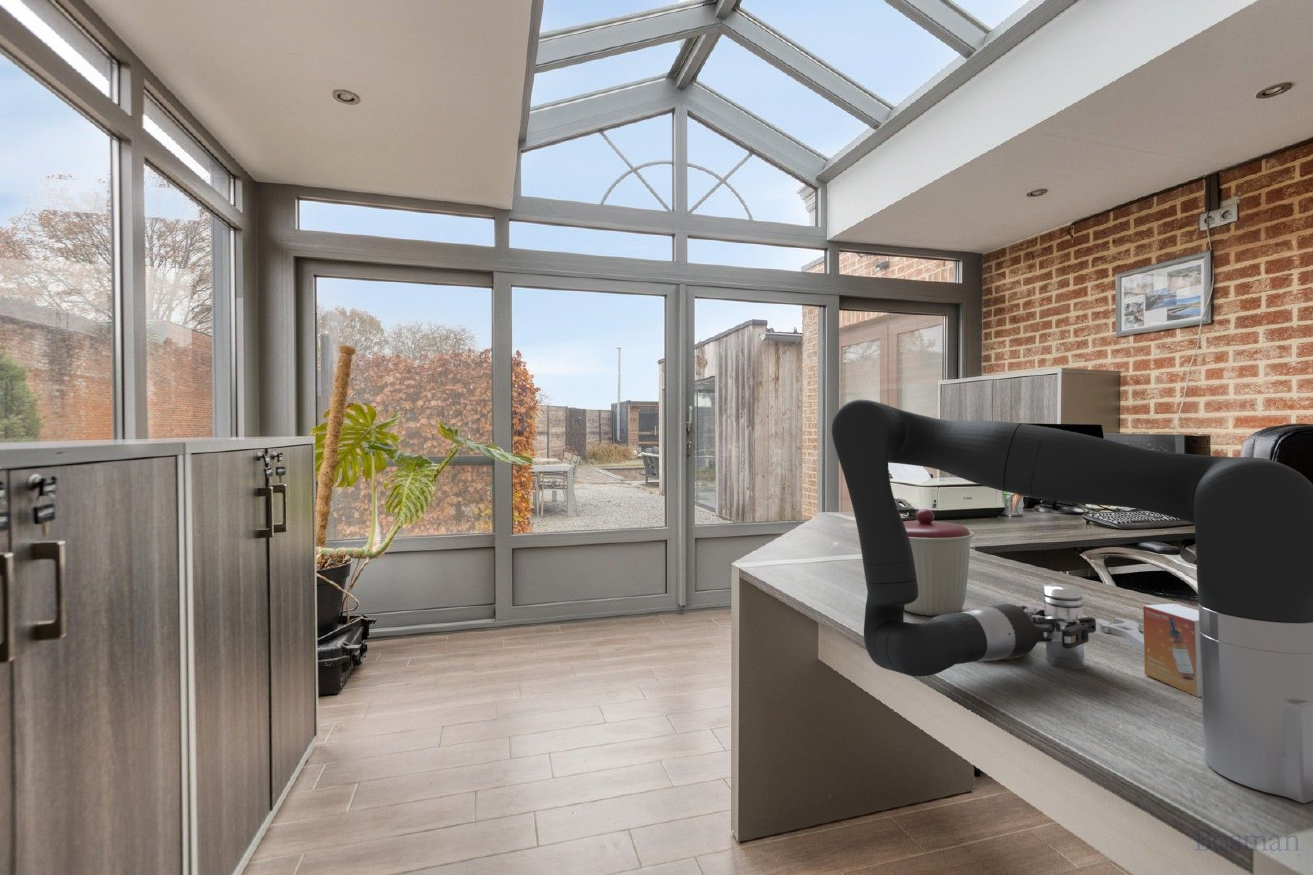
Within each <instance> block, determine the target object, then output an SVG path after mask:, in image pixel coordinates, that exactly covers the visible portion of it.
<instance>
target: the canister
mask: <svg viewBox="0 0 1313 875" xmlns="http://www.w3.org/2000/svg"><path fill="white" fill-rule="evenodd" d="M915 518H916V520H906V521H904V520H902V521H903V523H904V526H905V528H906V531H907V534H908V537H909V540H910V544H911V548H912V552H913V558H914V564H915V570H916V576H917V583H918V597H917V599H916V600H915V601H914V602H912V603H909V604H906V605H905V607H904V612H908V613H912V614H916V615H921V616H932V617H936V616H940V615H945V614H951V613H958V612H961V610H962V609H963V608H964V605H965V601H966V596H967V595H966V594H967V586H968V580H969V578H968V576H969V565H970V552H971V539H972V538H973V537H974V536H975V533H974V531H972V530H969V529H968V528H967V527H966V526H964V525H962V524H958V523H953V522H947V521H946V522H945V521H937V520H934V519H935V513H934V512H933V511H932V510H930V509H922V508H921V509H919V510H918V511H916V512H915Z"/></svg>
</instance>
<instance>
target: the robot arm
mask: <svg viewBox="0 0 1313 875" xmlns="http://www.w3.org/2000/svg"><path fill="white" fill-rule="evenodd" d="M831 437H832V440H833V445H834V448H835V451H836V454H837V458H838V460H839V464H840V467H841V470H842V472H843V476H844V480H845V483H846V484H845V485H846V487H847V491H848V495H849V497H850V501H851V505H852V509H853V514H854V518H855V519H854V520H855V523H856V527H857V533H858V538H859V544H860V551H861V558H862V564H863V572H864V579H865V584H866V591H867V595H866V602H865V611H864V622H863V623H864V624H863V641H864V645H865V648H866V651H867V653H868V656H869V657H870V659H871V661H872V662H873V663H874V664H875V665H877V666H878V667H880V668H883V669H885V670H888V671H893V672H896V673H899V674H903V675H907V676H911V677H928V676H932V675H937V674H939V673H942V672H943V671H946V670H948V669H950V668H951V667H953V666H956V665H961V664H967V663H973V662H974V663H975V662H984V661H985V662H987V661H997V660H996V659H1001V660H1003V659H1002V658H1008V657H1013V656H1019V655H1022V656H1023V655H1027V654H1029V653H1030V652H1032V650H1034V648H1035V647H1036V645H1037V644H1046V642H1050V641H1062V647H1064V648H1067V649H1069V648H1074V647H1076V646H1079V645H1081V644H1084V645H1085V644H1086V643H1088V642H1089V634H1091V633H1095V632H1097V622H1096V619H1095V617H1092V616H1086V617H1083V618H1079V619H1066V620H1064V619H1062V618H1060V617H1058V616H1049V617H1045V610H1044V608H1043V609H1039V608H1037V607H1035V608H1029V607H1028V606H1025V605H1018V606H1017V605H1015V604H1012V603H1004V604H995V605H990V606H989V605H988V606H982V607H981V606H980V607H975V608H971V609H968V610H967V609H966V610H964V611H959V612H957V613H951V614H945V615H940V616H933V617H932V618H930V619H928V621H927V622H919V623H916V622H907V621H905V620H904V618H905V610H904V607H905V605H906V604H909V603H912V602H914V601H915V600H916V599H917V597H918V583H917V576H916V570H915V564H914V558H913V552H912V548H911V544H910V540H909V537H908V534H907V531H906V528H905V526H904V523H903V521H904V520H903V518H902V516H901V513H900V511H899V508H898V506H897V503H896V500H895V496H894V492H893V489H892V484H891V479H890V472H889V470H890V469H889V464H890V463H891V464H900V465H908V466H909V465H910V466H917V467H923V468H924V467H925V468H931V469H934V470H938V471H941V472H945V473H947V474H950V475H953V476H955V477H958V478H960V479H963V480H965V481H968V482H971V483H974V484H977V485H980V486H984V487H987V488H989V489H995V490H998V491H1001V492H1006V493H1011V494H1015V495H1020V496H1024V497H1028V498H1034V499H1038V500H1044V501H1051V502H1057V503H1058V502H1059V503H1065V504H1066V503H1068V504H1079V505H1087V506H1089V505H1091V506H1105V507H1109V506H1110V507H1118V508H1119V507H1121V508H1129V509H1136V510H1141V511H1146V512H1149V513H1150V512H1151V513H1154V514H1159V515H1162V516H1165V517H1170V518H1173V519H1177V520H1182V521H1185V522H1188V523H1191V524H1194V536H1195V537H1194V538H1195V554H1196V556H1195V557H1196V586H1197V587H1196V589H1197V601H1198V603H1197V604H1198V605H1197V606H1198V611H1199V636H1200V661H1201V687H1202V697H1201V705H1202V706H1201V707H1202V709H1201V710H1202V726H1203V728H1202V729H1203V737H1202V740H1203V742H1202V743H1203V747H1204V761H1205V763H1206V764H1207V766H1208V767H1210V768H1211V769H1212V770H1213V771H1215V772H1216V773H1218V774H1219V775H1221V776H1223V777H1225V778H1226V779H1229V780H1231V781H1233V782H1236V783H1238V784H1240V785H1242V786H1244V787H1245V786H1246V787H1248V788H1250V789H1253V790H1254V789H1255V790H1257V791H1261V792H1264V793H1268V794H1272V795H1277V796H1282V797H1285V798H1288V799H1290V800H1294V801H1296V802H1298V803H1301V804H1306V803H1309V802H1313V483H1312V482H1311V481H1310V480H1309V479H1308V478H1307V477H1306V476H1304V475H1303V474H1302V473H1301V472H1300V471H1297V470H1296V469H1294V468H1292V467H1290V466H1288V465H1285V464H1283V463H1282V462H1278V461H1275V460H1271V459H1268V458H1264V457H1263V458H1262V457H1252V456H1251V457H1249V456H1247V457H1246V456H1239V457H1238V456H1220V455H1219V456H1217V455H1203V454H1191V453H1181V452H1168V451H1163V450H1153V449H1147V448H1142V447H1138V446H1134V445H1133V446H1132V445H1129V444H1125V443H1122V442H1118V441H1114V440H1110V439H1107V438H1106V439H1105V438H1103V437H1102V438H1101V437H1097V436H1094V435H1089V434H1084V433H1080V432H1075V431H1069V430H1065V429H1064V430H1063V429H1060V428H1054V427H1048V426H1042V425H1041V426H1040V425H1034V424H1028V423H1021V422H1012V421H1010V422H1009V421H1000V420H999V421H997V420H951V419H950V420H949V419H948V420H947V419H942V418H941V419H940V418H935V417H931V416H927V415H922V414H919V413H913V412H912V411H911V412H910V411H907V410H903V409H899V408H896V407H894V406H890V405H889V404H885V403H882V402H877V401H873V400H870V399H861V398H860V399H859V398H858V399H853V400H851V401H848V402H846V403H844V404H843V405H842V406H841V407H840V408H838V410H837V412H836V413H835V414H834V417H833V419H832V423H831ZM1053 622H1055V625H1056V632H1055V626H1054V623H1053ZM1066 625H1070V627H1067V628H1065V626H1066Z"/></svg>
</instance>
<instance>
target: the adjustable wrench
mask: <svg viewBox="0 0 1313 875" xmlns="http://www.w3.org/2000/svg"><path fill="white" fill-rule="evenodd" d="M1097 629H1098V630H1100V631H1101V633H1104V634H1105V633H1107V634H1111V635H1115V636H1118V637H1122V638H1123V639H1125V640H1128V641H1129V642H1130V643H1133V645H1135V646H1137V647H1138V648H1140V650H1141V649H1142V650H1143V651H1144V633H1141V632H1140V625H1139V623H1138V622H1135V621H1133V620H1130V619H1126V618H1120V617H1113V623H1112V622H1111V621H1107V620H1105V619H1102V618H1097Z"/></svg>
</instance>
